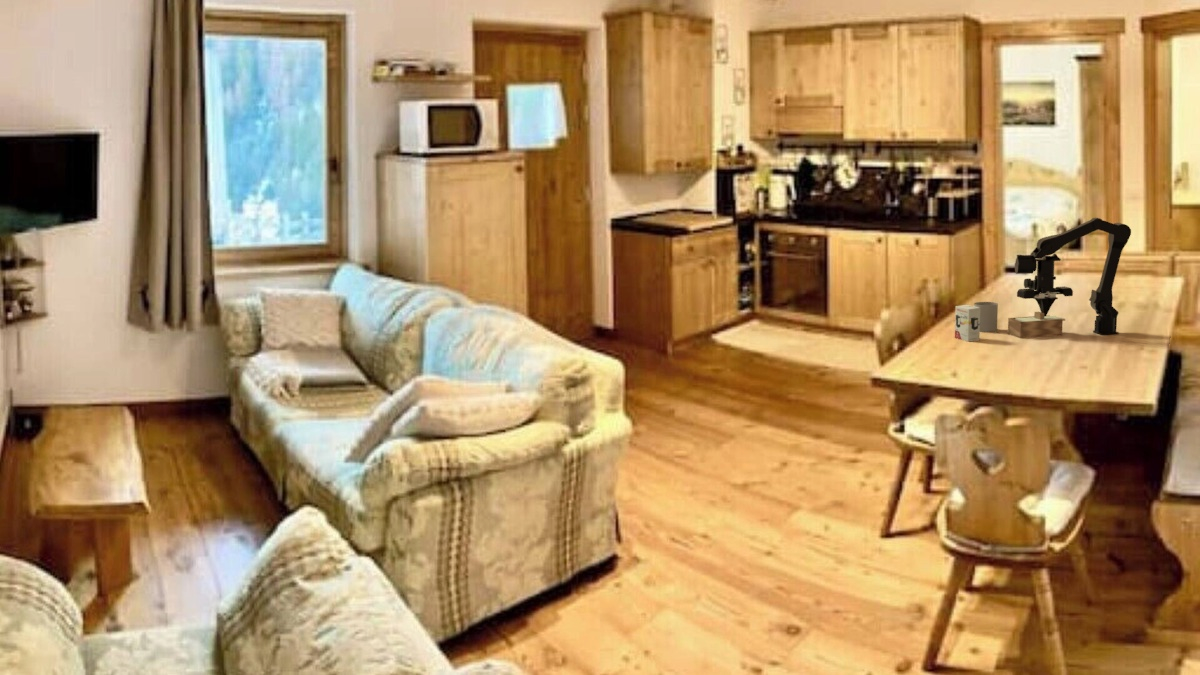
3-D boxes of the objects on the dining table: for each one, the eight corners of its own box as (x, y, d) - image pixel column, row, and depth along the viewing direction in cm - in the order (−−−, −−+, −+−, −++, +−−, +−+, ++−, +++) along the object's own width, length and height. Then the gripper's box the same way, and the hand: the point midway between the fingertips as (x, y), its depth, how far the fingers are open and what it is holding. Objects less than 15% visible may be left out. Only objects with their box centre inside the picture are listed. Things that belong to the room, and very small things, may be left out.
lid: (1054, 317, 439) (1054, 309, 438) (1065, 320, 431) (1065, 312, 431) (1015, 319, 436) (1015, 312, 436) (1026, 323, 429) (1026, 315, 428)
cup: (999, 329, 447) (1000, 302, 446) (994, 332, 441) (994, 305, 439) (976, 327, 452) (977, 301, 450) (970, 331, 445) (971, 304, 443)
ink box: (954, 337, 434) (954, 305, 432) (965, 336, 435) (966, 304, 433) (968, 341, 426) (968, 308, 424) (980, 340, 427) (980, 307, 425)
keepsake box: (1048, 331, 440) (1049, 315, 439) (1062, 335, 431) (1062, 319, 430) (1007, 333, 438) (1008, 318, 437) (1020, 338, 429) (1020, 321, 428)
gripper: (1058, 269, 440) (1056, 311, 443) (1010, 271, 437) (1008, 314, 440) (1074, 272, 429) (1072, 316, 432) (1025, 275, 427) (1024, 319, 429)
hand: (1044, 316), depth 434 cm, fingers closed
